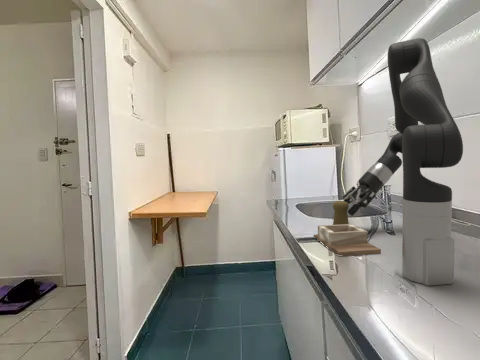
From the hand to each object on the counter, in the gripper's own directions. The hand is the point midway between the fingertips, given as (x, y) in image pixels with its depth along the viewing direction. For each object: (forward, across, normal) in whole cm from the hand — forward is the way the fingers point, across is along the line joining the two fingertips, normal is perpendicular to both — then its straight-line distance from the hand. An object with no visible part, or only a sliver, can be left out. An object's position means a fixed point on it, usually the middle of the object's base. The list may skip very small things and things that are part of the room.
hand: (344, 211), depth 116 cm
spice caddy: (+10, +16, 0) cm, 19 cm away
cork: (+6, 0, +4) cm, 7 cm away
